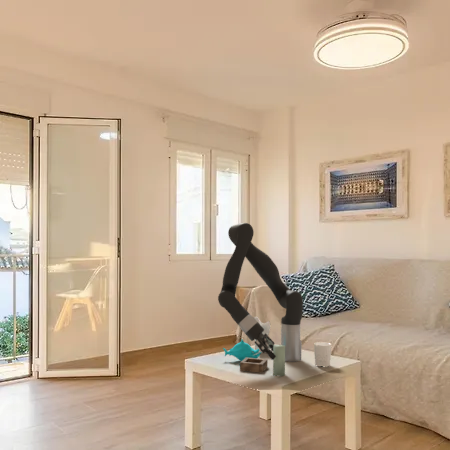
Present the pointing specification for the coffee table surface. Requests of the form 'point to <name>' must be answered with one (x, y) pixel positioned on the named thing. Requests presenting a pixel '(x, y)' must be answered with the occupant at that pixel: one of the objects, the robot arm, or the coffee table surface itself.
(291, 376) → the coffee table surface
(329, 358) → the white cup
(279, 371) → the post
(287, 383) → the coffee table surface
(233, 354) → the toy shark
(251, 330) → the robot arm
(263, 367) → the socket base
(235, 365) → the coffee table surface
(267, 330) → the shell sculpture
